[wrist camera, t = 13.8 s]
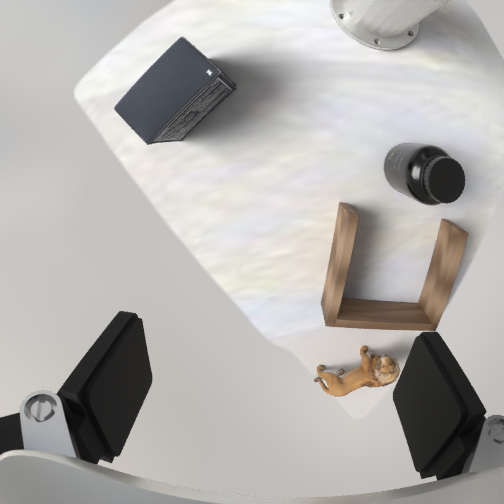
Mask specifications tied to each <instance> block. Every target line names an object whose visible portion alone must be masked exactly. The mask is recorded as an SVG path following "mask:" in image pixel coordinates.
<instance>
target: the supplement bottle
mask: <svg viewBox="0 0 504 504" xmlns="http://www.w3.org/2000/svg"><path fill="white" fill-rule="evenodd" d="M384 172H385V176H386V179H387V181H388V182H389V184H390V185H391V186H392V187H393V188H394V189H395V190H397V191H399V192H401V193H403V194H405V195H407V196H408V197H410V198H412V199H414V200H416V201H418V202H420V203H422V204H425V205H438V204H440V203H451V202H454V201H455V200H457V199H458V197H460V195H461V194H462V192H463V190H464V186H465V175H464V171H463V169H462V167H461V165H460V164H459V163H458V162H457V161H455V160H454V159H452V158H451V157H450V156H449V154H448V153H447V152H446V151H444V150H443V149H441V148H439V147H437V146H433V145H423V144H412V143H403V144H399V145H396V146H395V147H393V148H392V149H391V150H390V151H389V153H388V154H387V156H386V159H385V162H384Z"/></svg>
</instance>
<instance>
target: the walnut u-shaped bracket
mask: <svg viewBox="0 0 504 504" xmlns="http://www.w3.org/2000/svg"><path fill="white" fill-rule="evenodd" d="M358 218H359V215H358V214H357V213H356V212H355V211H354V210H353V209H352V207H351V206H350V205H349V204H346V203H339V208H338V214H337V220H336V226H335V232H334V238H333V244H332V250H331V255H330V260H329V266H328V271H327V276H326V281H325V286H324V291H323V296H322V300H321V306H322V310H323V315H324V320H325V324H326V326H330V327H345V328H363V329H385V330H418V331H436V328H437V326H438V324H439V321H440V319H441V316H442V314H443V311H444V309H445V306H446V303H447V301H448V298H449V295H450V292H451V289H452V286H453V283H454V281H455V277H456V274H457V271H458V268H459V265H460V262H461V258H462V255H463V251H464V248H465V244H466V240H467V237H468V232H466V231H464V230H463V229H461V228H460V227H458V226H457V225H455V224H453V223H452V222H450V221H449V220H444V219H442V220H441V225H440V229H439V233H438V237H437V241H436V245H435V249H434V253H433V256H432V260H431V263H430V267H429V270H428V273H427V277H426V280H425V283H424V286H423V289H422V292H421V296H420V298H419V301H418V303H405V302H390V301H376V300H362V299H349V298H342V295H343V291H344V287H345V282H346V278H347V273H348V269H349V264H350V259H351V255H352V250H353V245H354V240H355V234H356V229H357V224H358Z"/></svg>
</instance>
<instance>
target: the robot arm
mask: <svg viewBox="0 0 504 504" xmlns="http://www.w3.org/2000/svg"><path fill="white" fill-rule="evenodd" d="M449 1H451V0H330V6H331V11H332V13H333V16H334V18H335V20H336V21H337V23H338V24H339V26H340V27H341V28H342V29H343V30H344V31H345V32H346V33H347V34H348V35H350V36H351V37H352V38H353V39H355V40H357V41H358V42H360V43H362V44H364V45H366V46H369V47H372V48H376V49H382V50H394V49H398V48H401V47H403V46H405V45H407V44H409V43H410V42H411V41H412V40H413V39H414V38H415V37H416V35H417V33H418V31H419V26H420V21H421V20H422V19H424V18H425V17H427V16H428V15H430V14H431V13H433V12H434V11H436V10H437V9H439V8H440V7H442V6H443V5H445V4H446V3H448V2H449ZM340 17H342V18H343V19H341V18H340ZM408 34H409V35H410V36H409V35H408ZM375 42H376V43H377V44H375ZM151 384H152V372H151V367H150V362H149V356H148V352H147V346H146V340H145V334H144V328H143V322H142V319H140V318H138V316H137V314H136V313H131V312H124V311H120V312H119V313H118V314H117V315H116V316H115V317H114V319H113V320H112V321H111V322H110V324H109V325H108V326H107V328H106V329H105V330H104V331H103V333H102V334H101V335H100V336H99V338H98V339H97V340H96V342H95V343H94V344H93V346H92V347H91V348H90V349H89V351H88V352H87V353H86V354H85V356H84V357H83V358H82V360H81V361H80V363H79V364H78V365H77V366H76V368H75V369H74V370H73V372H72V373H71V375H70V376H69V377H68V379H67V380H66V381H65V383H64V384H63V386H62V387H61V388H60V390H59V391H58V393H57V394H55V393H52V392H51V391H45V390H43V391H36V392H33V393H31V394H30V395H28V396H27V397H26V398H25V399H24V400H23V401H22V403H21V406H20V413H16V414H12V415H9V416H5V417H1V418H0V504H504V416H501V415H492V416H490V417H488V418H487V419H486V418H485V417H484V415H485V413H486V409H485V408H484V406H483V404H482V402H481V400H480V399H479V397H478V395H477V394H476V392H475V390H474V388H473V387H472V385H471V383H470V382H469V380H468V378H467V377H466V375H465V373H464V372H463V370H462V369H461V367H460V365H459V364H458V362H457V361H456V359H455V357H454V356H453V355H452V353H451V351H450V350H449V348H448V347H447V345H446V344H445V342H444V341H443V339H442V338H441V336H440V335H439V333H438V332H422V333H421V334H420V336H417V337H416V339H415V341H414V344H413V346H412V349H411V351H410V354H409V356H408V359H407V361H406V364H405V366H404V368H403V371H402V373H401V375H400V378H399V380H398V383H397V384H396V387H395V389H394V392H393V401H394V403H395V406H396V409H397V412H398V415H399V418H400V421H401V424H402V427H403V431H404V433H405V437H406V440H407V443H408V446H409V450H410V453H411V456H412V460H413V463H414V467H415V469H416V471H417V472H420V476H421V479H424V478H428V477H432V476H435V475H436V478H437V481H434V482H429V483H425V484H420V485H415V486H411V487H405V488H400V489H394V490H388V491H381V492H375V493H366V494H358V495H347V496H334V497H310V498H309V497H308V498H284V497H282V498H281V497H260V496H246V495H235V494H226V493H218V492H210V491H203V490H197V489H191V488H186V487H180V486H175V485H171V484H166V483H161V482H157V481H153V480H149V479H145V478H141V477H136V476H133V475H129V474H126V473H122V472H119V471H115V470H112V469H109V468H106V467H103V466H99V465H96V464H98V462H99V460H100V459H101V460H104V461H107V462H110V463H112V461H113V459H114V457H115V456H117V457H118V456H119V455H120V454H121V451H122V449H123V447H124V445H125V442H126V440H127V438H128V436H129V433H130V431H131V429H132V427H133V424H134V422H135V420H136V417H137V415H138V413H139V411H140V409H141V406H142V404H143V402H144V400H145V398H146V395H147V393H148V391H149V388H150V386H151Z"/></svg>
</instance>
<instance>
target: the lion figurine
mask: <svg viewBox="0 0 504 504" xmlns="http://www.w3.org/2000/svg"><path fill="white" fill-rule="evenodd" d="M367 350H368V349H367V347H366V346H362V347H361V349H360V355H361V357H362V363H361V366H360V367H357V368H355V369H353V370H351V371H349V372H348V373H347V374H346V375H345V376H344V377H339V376H340V375H343V374H344V371H343V370H338V371H337V373H336V374H333V373H329V372H322V371H323V370H324V368H325V367H324V366H323V365H320V366H318V367H317V372H318V375H319V377H320V378H323V379H324V380H325V381H326V382H327V385H328V388H327V387H326V386H325V384H324V383H323V381H322V380H321V379H320V378H315V380H314V381H315V382H318V381H319V382H320V385H321V387H322V388H323V390H324V391H325V392H326V393H328V394H330V395H333V396H345V395H346V394H348V393H350V392H352V391H354V390H356V389H358V388H361V387H363V386H368V387H379V386H385V385H388V384H391V383H393V382H394V381H396V379H397V378H398V376H399V372H400V368H399V366H398V362H397V360H396V359H395V358H393V357H390V356H388V355H387V354H384V355H382V357H380V356H377V357H375V355H374V354H371V355H369V357H368V355H367V354H366V351H367Z"/></svg>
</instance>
